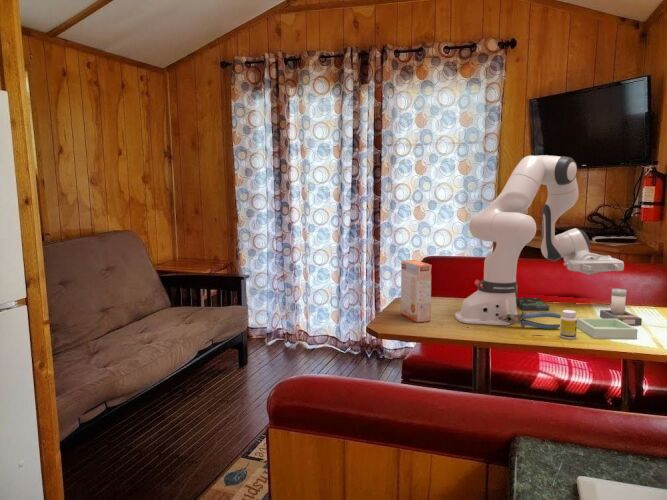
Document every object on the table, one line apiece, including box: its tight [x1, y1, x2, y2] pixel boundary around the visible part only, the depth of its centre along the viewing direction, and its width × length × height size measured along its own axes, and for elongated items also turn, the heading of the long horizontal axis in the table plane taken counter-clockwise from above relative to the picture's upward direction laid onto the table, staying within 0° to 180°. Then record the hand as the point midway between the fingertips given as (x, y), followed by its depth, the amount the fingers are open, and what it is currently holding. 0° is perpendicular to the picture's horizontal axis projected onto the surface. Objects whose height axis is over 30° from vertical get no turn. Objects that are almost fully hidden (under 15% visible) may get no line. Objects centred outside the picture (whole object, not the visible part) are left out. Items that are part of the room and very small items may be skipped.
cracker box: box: [400, 259, 432, 323], centre depth 184 cm, size 14×6×21 cm, turn 16°
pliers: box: [498, 310, 562, 330], centre depth 169 cm, size 20×2×6 cm, turn 81°
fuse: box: [610, 288, 627, 315], centre depth 179 cm, size 5×5×11 cm
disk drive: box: [516, 296, 550, 312], centre depth 201 cm, size 10×3×15 cm
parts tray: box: [576, 317, 639, 340], centre depth 163 cm, size 13×13×3 cm
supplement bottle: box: [559, 309, 578, 340], centre depth 159 cm, size 5×5×8 cm
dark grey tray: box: [599, 309, 643, 327], centre depth 178 cm, size 8×12×3 cm
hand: (604, 268), depth 190 cm, fingers open, 8 cm apart
